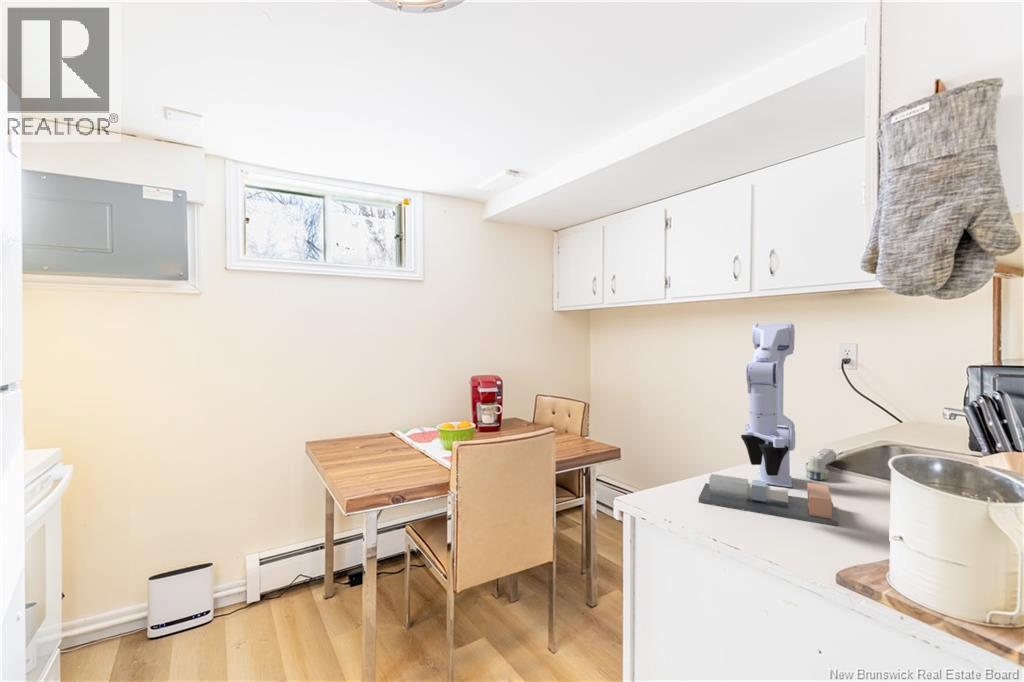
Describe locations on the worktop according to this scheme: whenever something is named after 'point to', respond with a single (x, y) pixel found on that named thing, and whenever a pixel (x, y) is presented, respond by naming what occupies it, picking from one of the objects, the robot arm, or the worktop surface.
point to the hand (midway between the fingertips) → (763, 469)
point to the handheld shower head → (820, 464)
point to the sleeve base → (735, 496)
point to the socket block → (819, 500)
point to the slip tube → (766, 492)
